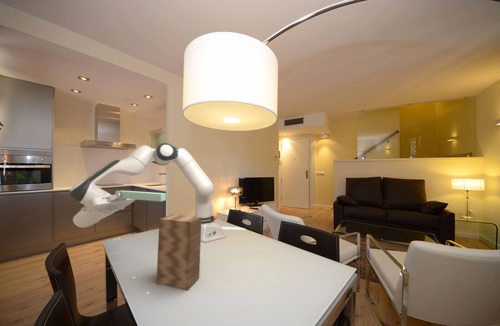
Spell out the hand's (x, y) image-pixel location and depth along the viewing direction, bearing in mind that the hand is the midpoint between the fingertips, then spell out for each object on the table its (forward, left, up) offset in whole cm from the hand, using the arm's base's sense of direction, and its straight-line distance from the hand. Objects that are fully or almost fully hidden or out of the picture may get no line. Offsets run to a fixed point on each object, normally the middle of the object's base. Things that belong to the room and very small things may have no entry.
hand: (125, 193), depth 84 cm
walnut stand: (-21, +21, -33) cm, 44 cm away
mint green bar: (-6, +6, -2) cm, 8 cm away
